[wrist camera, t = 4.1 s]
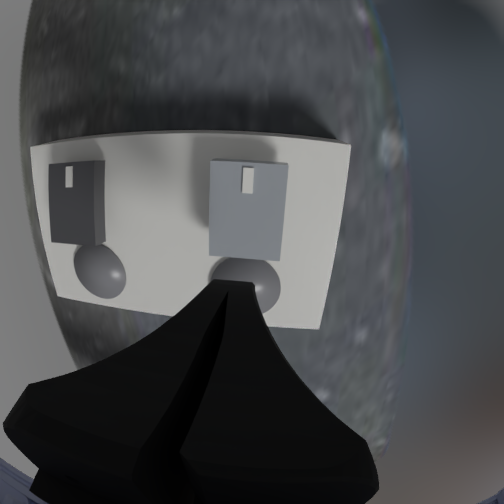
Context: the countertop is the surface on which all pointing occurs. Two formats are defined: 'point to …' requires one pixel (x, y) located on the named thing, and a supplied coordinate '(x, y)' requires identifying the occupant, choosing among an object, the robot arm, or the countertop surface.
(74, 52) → the countertop surface
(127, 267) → the switch panel
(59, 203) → the block
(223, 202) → the block
